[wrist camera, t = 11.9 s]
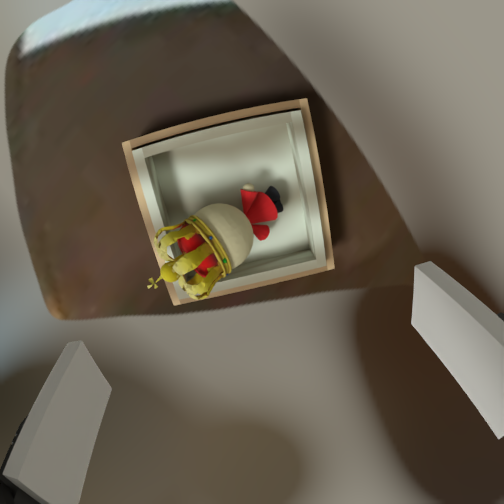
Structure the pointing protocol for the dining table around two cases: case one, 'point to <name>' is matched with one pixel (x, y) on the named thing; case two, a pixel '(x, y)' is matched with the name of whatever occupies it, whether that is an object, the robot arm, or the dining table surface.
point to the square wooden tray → (238, 188)
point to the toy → (216, 240)
